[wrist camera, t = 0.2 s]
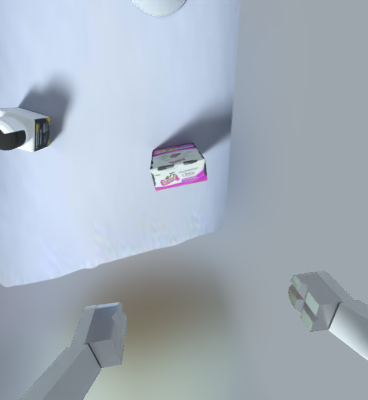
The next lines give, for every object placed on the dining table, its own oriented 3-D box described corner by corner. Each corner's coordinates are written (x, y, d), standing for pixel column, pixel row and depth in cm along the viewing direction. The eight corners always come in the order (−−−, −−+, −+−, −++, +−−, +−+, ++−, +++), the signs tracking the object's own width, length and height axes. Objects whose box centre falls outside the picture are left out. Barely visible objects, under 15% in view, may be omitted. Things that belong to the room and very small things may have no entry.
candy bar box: (156, 168, 56) (154, 192, 41) (152, 150, 53) (148, 168, 39) (196, 160, 56) (208, 181, 41) (193, 142, 53) (205, 157, 39)
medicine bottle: (49, 146, 50) (19, 158, 40) (17, 137, 49) (-23, 147, 38) (51, 117, 48) (18, 121, 37) (17, 106, 46) (-27, 108, 35)
